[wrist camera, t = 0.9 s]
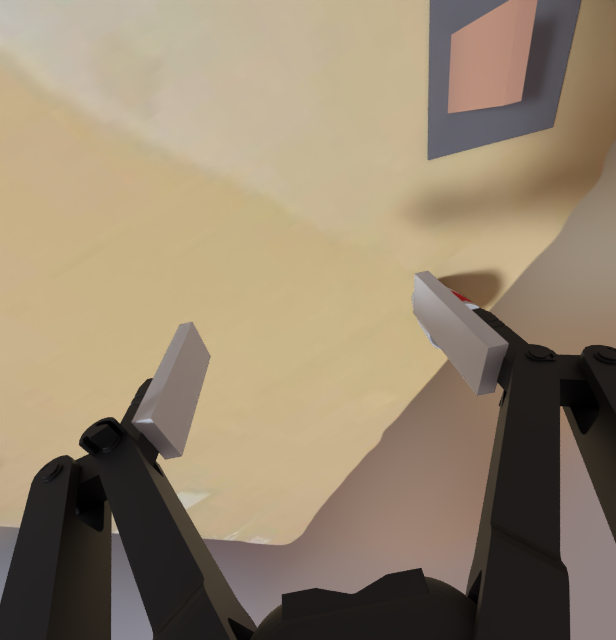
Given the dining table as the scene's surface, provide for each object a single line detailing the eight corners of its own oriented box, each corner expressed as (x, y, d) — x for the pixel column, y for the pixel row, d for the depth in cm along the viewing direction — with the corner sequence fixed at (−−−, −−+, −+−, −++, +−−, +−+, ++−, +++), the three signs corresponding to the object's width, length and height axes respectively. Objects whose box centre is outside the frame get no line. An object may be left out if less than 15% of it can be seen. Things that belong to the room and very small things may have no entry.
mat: (430, -20, 28) (432, -22, 28) (592, -68, 27) (596, -70, 27) (427, 159, 37) (429, 159, 36) (550, 127, 36) (552, 127, 36)
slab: (451, 34, 30) (518, -6, 22) (466, 30, 30) (539, -12, 21) (447, 113, 34) (503, 105, 25) (460, 110, 34) (521, 100, 25)
